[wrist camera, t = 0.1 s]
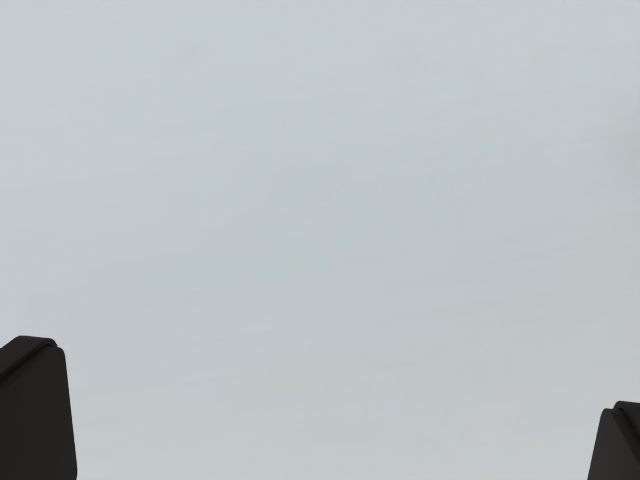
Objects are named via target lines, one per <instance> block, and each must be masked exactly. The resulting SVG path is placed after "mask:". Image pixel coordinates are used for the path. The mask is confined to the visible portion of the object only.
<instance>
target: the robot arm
mask: <svg viewBox="0 0 640 480" xmlns="http://www.w3.org/2000/svg"><path fill="white" fill-rule="evenodd" d="M76 479H77V461H76V452H75V443H74V434H73V425H72V415H71V406H70V397H69V388H68V378H67V369H66V360H65V354H64V351H63V349H61V348H60V347H57V344H56V342H55V341H54V340H53V339H51V338H42V337H32V336H18V337H16V338H14V339H13V340H12V341H10V342H9V343H7V344H6V345H5V346H3V347H2V348H0V480H76ZM587 480H640V403H635V402H626V401H618V402H616V404H615V406H614V408H613V409H607V408H606V409H604V410H603V412H602V414H601V417H600V422H599V427H598V432H597V436H596V441H595V446H594V451H593V455H592V460H591V465H590V469H589V474H588V479H587Z"/></svg>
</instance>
